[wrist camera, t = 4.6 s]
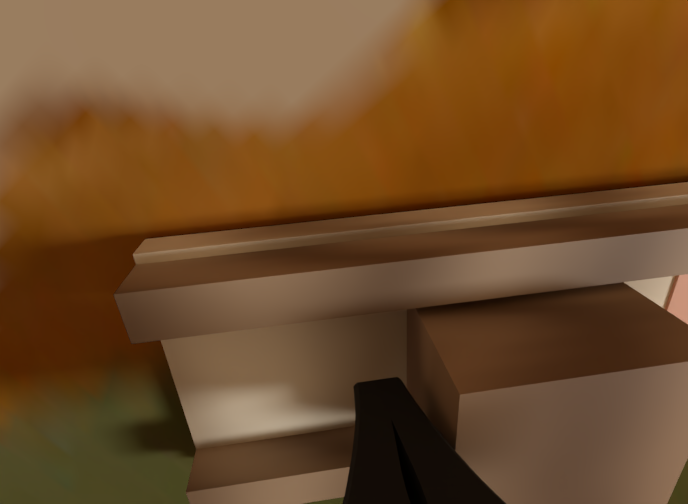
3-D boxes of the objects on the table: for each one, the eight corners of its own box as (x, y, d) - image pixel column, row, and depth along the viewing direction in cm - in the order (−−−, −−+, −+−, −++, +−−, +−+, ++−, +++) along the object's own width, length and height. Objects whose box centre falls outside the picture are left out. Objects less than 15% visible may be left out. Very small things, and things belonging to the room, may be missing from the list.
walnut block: (406, 417, 14) (448, 542, 10) (407, 291, 12) (460, 394, 8) (571, 392, 14) (667, 503, 11) (601, 267, 12) (734, 354, 8)
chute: (212, 457, 15) (198, 526, 13) (145, 239, 11) (109, 282, 9) (785, 371, 17) (861, 417, 15) (898, 160, 13) (1023, 179, 11)
